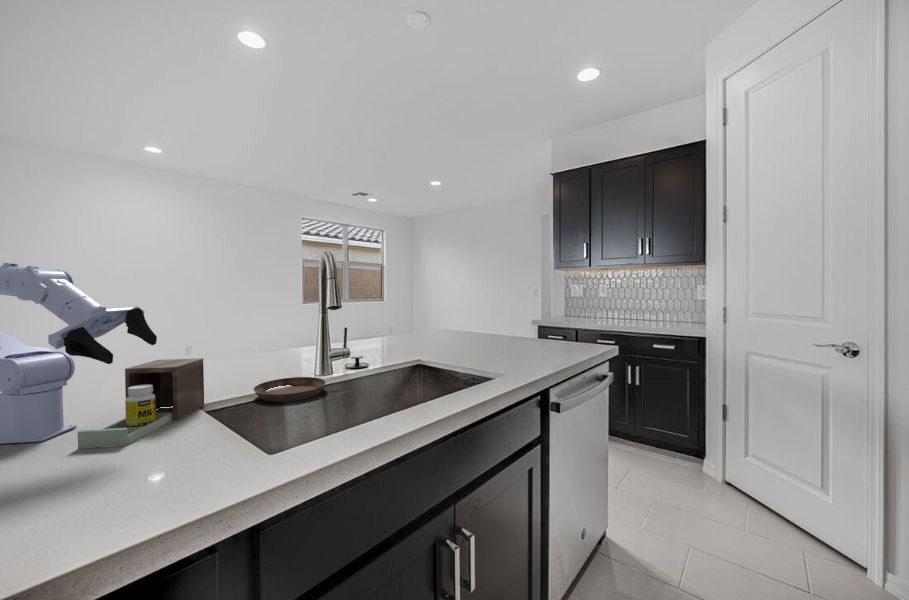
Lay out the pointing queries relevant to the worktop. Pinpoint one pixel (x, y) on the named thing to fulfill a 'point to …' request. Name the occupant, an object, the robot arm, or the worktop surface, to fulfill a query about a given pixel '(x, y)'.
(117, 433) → the tray
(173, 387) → the wooden open box
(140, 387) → the supplement bottle
